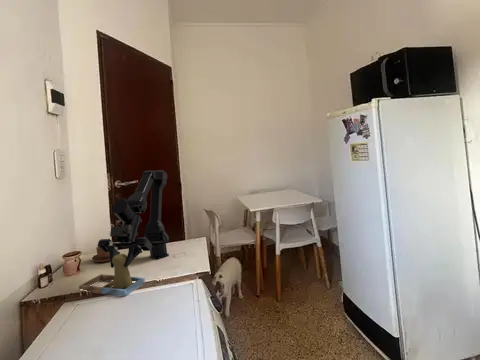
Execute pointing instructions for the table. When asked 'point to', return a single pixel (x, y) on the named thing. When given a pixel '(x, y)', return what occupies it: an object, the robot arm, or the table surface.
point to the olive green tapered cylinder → (121, 272)
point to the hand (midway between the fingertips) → (118, 267)
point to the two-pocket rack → (107, 287)
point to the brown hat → (101, 256)
